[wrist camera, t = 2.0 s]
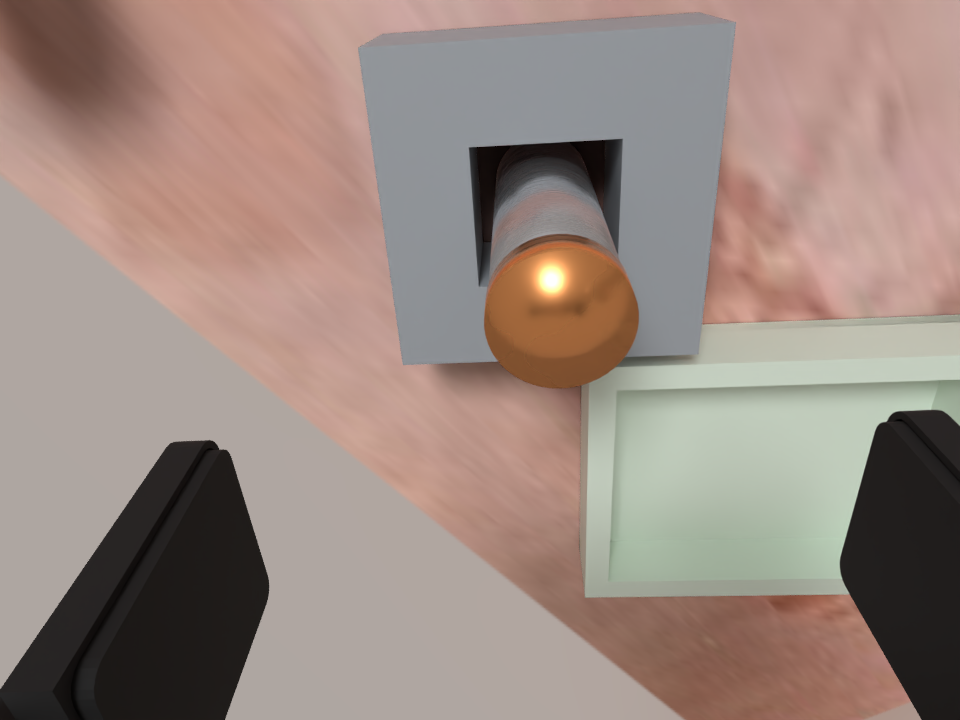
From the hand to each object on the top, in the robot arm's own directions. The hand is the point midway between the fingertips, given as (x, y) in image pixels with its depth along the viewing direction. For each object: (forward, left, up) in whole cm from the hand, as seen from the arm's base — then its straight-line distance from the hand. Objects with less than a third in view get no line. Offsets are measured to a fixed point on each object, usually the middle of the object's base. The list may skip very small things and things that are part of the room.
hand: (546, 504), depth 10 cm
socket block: (-1, 0, -16) cm, 16 cm away
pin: (-1, 0, -16) cm, 16 cm away
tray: (-10, +12, -16) cm, 22 cm away
